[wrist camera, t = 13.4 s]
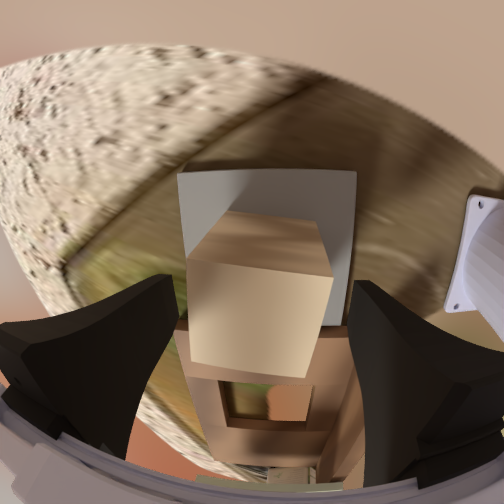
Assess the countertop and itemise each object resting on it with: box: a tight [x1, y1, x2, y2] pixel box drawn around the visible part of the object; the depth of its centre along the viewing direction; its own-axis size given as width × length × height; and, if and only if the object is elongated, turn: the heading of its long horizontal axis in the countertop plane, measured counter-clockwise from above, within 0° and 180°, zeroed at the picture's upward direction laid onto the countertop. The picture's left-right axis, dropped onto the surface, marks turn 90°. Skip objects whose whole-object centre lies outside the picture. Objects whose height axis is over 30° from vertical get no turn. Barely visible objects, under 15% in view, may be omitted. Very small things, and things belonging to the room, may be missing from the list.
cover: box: [195, 475, 343, 493], centre depth 16 cm, size 12×9×2 cm
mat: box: [177, 169, 357, 326], centre depth 15 cm, size 9×9×1 cm
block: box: [186, 211, 334, 378], centre depth 12 cm, size 4×4×6 cm
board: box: [173, 319, 365, 484], centre depth 18 cm, size 13×21×6 cm, turn 2°
